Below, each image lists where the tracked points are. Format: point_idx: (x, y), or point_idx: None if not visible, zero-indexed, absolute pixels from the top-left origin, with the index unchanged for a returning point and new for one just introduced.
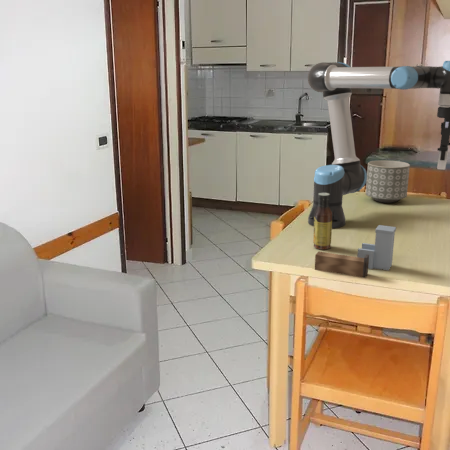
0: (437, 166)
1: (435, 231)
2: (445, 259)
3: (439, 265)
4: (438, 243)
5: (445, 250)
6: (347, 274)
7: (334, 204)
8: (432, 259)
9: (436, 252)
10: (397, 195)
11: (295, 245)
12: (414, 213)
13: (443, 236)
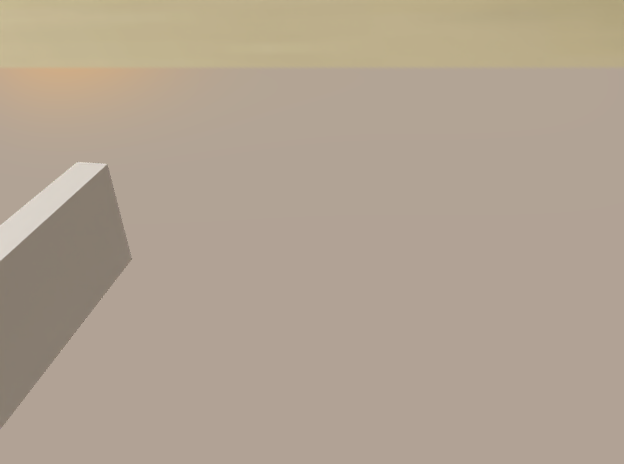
0: (54, 183)
1: (555, 8)
2: (91, 67)
3: (4, 43)
4: (311, 32)
5: (213, 67)
6: None
7: None
8: (56, 11)
9: (161, 26)
10: None
11: None
12: None
13: (455, 56)
